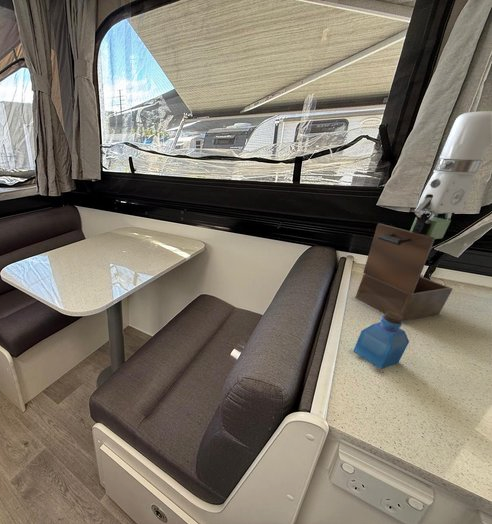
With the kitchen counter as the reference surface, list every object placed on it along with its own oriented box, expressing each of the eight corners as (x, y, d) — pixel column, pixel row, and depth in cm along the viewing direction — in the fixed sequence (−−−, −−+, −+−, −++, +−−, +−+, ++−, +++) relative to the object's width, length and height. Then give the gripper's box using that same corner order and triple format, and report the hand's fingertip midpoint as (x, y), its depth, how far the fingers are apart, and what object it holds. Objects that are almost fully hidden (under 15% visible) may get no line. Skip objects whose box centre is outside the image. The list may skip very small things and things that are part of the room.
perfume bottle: (353, 350, 67) (369, 310, 62) (370, 345, 68) (388, 305, 64) (380, 368, 61) (400, 326, 56) (398, 362, 63) (419, 320, 58)
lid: (379, 223, 79) (365, 226, 78) (435, 237, 66) (418, 241, 66) (365, 272, 86) (351, 275, 85) (413, 293, 73) (397, 297, 73)
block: (421, 232, 78) (429, 215, 76) (442, 238, 74) (451, 220, 72) (408, 234, 77) (415, 217, 75) (428, 239, 73) (437, 221, 71)
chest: (391, 291, 92) (401, 268, 89) (439, 314, 80) (453, 288, 77) (354, 297, 89) (363, 274, 86) (399, 321, 77) (411, 295, 74)
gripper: (450, 169, 63) (417, 242, 70) (501, 167, 66) (464, 237, 74) (414, 166, 69) (388, 233, 77) (461, 165, 73) (432, 229, 80)
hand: (425, 234), depth 75 cm, fingers closed on block, 5 cm apart
